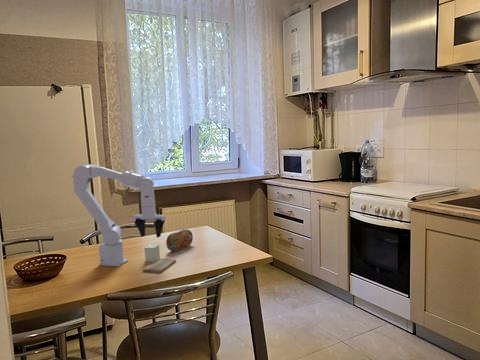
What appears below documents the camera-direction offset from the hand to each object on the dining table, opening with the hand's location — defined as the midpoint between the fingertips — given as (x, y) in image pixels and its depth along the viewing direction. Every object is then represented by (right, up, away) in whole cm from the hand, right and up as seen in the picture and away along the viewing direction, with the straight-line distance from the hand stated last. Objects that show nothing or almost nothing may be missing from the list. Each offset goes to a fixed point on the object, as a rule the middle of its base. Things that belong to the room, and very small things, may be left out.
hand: (150, 236), depth 165 cm
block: (+1, -10, +1) cm, 10 cm away
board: (+5, -12, -7) cm, 15 cm away
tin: (+10, -8, +15) cm, 20 cm away
